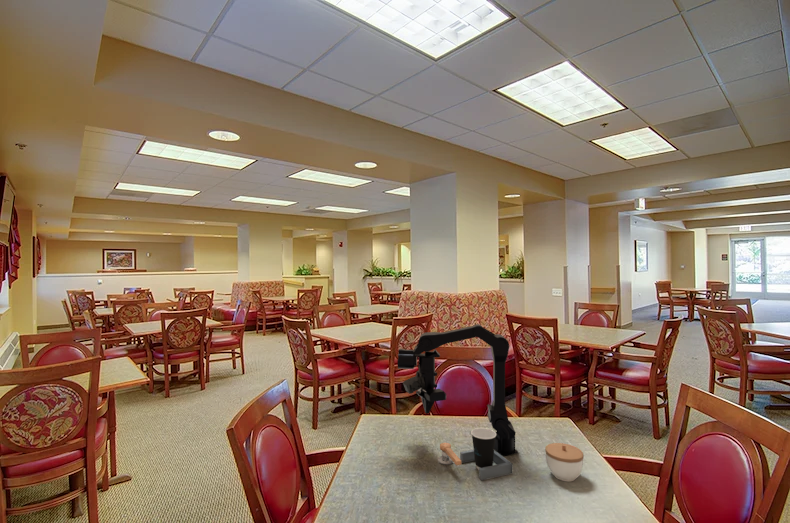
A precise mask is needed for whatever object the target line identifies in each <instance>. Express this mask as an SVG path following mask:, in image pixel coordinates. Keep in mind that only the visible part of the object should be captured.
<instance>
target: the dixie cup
mask: <svg viewBox="0 0 790 523" xmlns="http://www.w3.org/2000/svg"><path fill="white" fill-rule="evenodd" d="M496 432H497V431H496V430H495V431H494V430H492V429H491V428H486V427H476V428H473V429H471V432H470V434H471V437H472V438H471V439H472V448H473V449H474V457H475V460H474V464H475V466H476V467H475V468H476V469H477V470H478V471H479V468H483V467H488V466H493V465H494V462H493V457H494V447H495V437H496Z"/></svg>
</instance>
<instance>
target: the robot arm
mask: <svg viewBox="0 0 790 523" xmlns="http://www.w3.org/2000/svg"><path fill="white" fill-rule="evenodd" d="M474 338H479V339H480V340H481V341H483V342H484V343H486V344H487V345H488V346H490V352H491V356H492V361H493V362H492V364H493V365H492V366H493V370H492V371H493V373H492V377H493V378H492V380H493V381H492V383H493V384H492V388H493V389H492V390H493V391H492V398H493V399H492V403H491V404H487V409H488V412H487V415H486V416H487V419H488V421H489V423H490V424H491V426H492V428H493V429H494V430H495V432H496V437H495V447H494V450H495V451H496V452H498V453H499V454H500V455H501V456H503V457H506V456H509V455H510V456H511V455H516V454H519V451H518V450H517V449H516V430H515V428H514V426H513V423H512V422H511V421H510V420H509V417H508V416H509V415H508V412H507V407H506V406H507V405H506V362H507V359H508V356H509V351H510V342H509V341H508V340H507V338H505V336H504V335H502V334H498V333H497V334H496V333H493V332H492V331H491V330H489V329H487V328H485V327H483V326H482V325H481V324H478V323H476V324H474V325H471V326H467V327H462V328H456V329H452V330H448V331H441V332H437V331H429V332H428V331H427V332H422V334H420V336H419V338H418V342H417V344H416V346H414V348H413V349H405V348H399V349H398V355H397V356H398V357H397V362H396V363H397V369H401V370H402V369H404V370H406V369H407V370H414V369H415V368H416V367H417V366H418V370H416V371H415V375H414V376H412V377H410V378H408V379H405V380H404V381H403V382H402V384H403V387H404V389H405V392H407V394H410V395H411V394H414V393H416V394H417V395H418V397H420V399H421V402H422V405H423V409H424V412H425V414H427V415H428V414H430V412H431V410H432V408H433V405H434V403H435V402H438V401H439V402H441V401H446V400H447V393H446V392H445V391H444V390H442V389H441V388H438V384H437V383H436V377H437V376H438V373H437V372H436V368H435V367H436V358H440V357H441V354H440V352H438V351H437V348H440V347H442V346H444V345H446V344H451V343H456V342H461V341H464V340H470V339H474Z"/></svg>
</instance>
